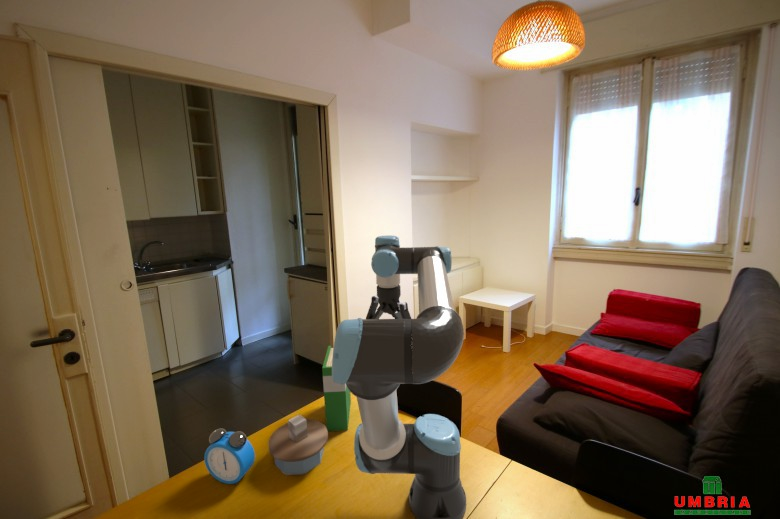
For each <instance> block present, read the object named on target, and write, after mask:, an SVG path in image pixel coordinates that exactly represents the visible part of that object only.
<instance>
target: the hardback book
mask: <svg viewBox="0 0 780 519" xmlns="http://www.w3.org/2000/svg"><path fill="white" fill-rule="evenodd" d="M333 349H334V347H332V345H328V346H327V350H326V354H325V357H324V361H323V364H322V368H321V372H322V382H323V384H322V385H323V398H324V401H323V402H324V414H325V415H324V416H325V427H326V428H327V431H328V432H334V431H336V432H337V431H348V430H349V420H350V413H351V404H352V399H351V395H352V394H351V392H350V391H349V389H348V388H347V386H346V384H343V385H341V384H340V383H335V382H334V381H333V379H332V359H333Z"/></svg>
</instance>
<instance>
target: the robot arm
mask: <svg viewBox="0 0 780 519" xmlns="http://www.w3.org/2000/svg"><path fill="white" fill-rule="evenodd" d="M374 240H375V241H374V248H375V251H374V253H373V255H372V257H371V269H372V271H373V272H374V275H376V276H375V277H376V278H375V283H376V285H377V286H376V295H373V296H371V298H370V299H371V301H370V305H369V308H368V311H367V314H366V316H365V318H364V319H363V318H361V317H358V318H352V319H344V320H342V321H340V323H339V324H338V326H337V328H336V332H335V336H334V342H333V348H334V349H333V359H332V379H333V381H334V382H335V383H340V384H341V385H343V384H346V386H347V388H348V389H349V391H350V394H351V395H353V396H355V397H356V401H357V406H358V409H359V415H360V419H361V423H359V424H358V426H356V430H355V434H354V446H353V450H354V455H355V458H354V459H355V464H356V467H357V469H358V470H359V472H361V473H365V474H370V475H374V474H375V475H376V474H395V475H396V474H400V475H401V474H402V475H405V474H406V475H408V474H409V475H414V477H413V480H412V482H411V484H410V488H409V492H408V502H409V503H408V505H409V507H410V508H409V509H410V510H411V512H412V514H413V515H414V516H415V518H416V519H462V518H463V517H464V516H465V514H466V510H467V494H466V491H465V489H464V486H463V485H462V481H461V477H460V473H461V449H462V443H461V436H460V430H459V429H458V427H457V425H456V424H455V423H454V422H453V421H452V420H450V419H449V418H447V417H445V416H442V415H440V414H436V413H426V414H422V416H421V415H420V416H419V417H417V418H416V419H415V421H414V423H403V421H402V419H400V418H399V410H398V409H399V406H398V396H397V390H398V388H399V387H400V385H401V384H402V385H404V384H405V385H406V384H409V385H411V384H412V385H421V384H426V383H429V382H431V381H432V382H433V381H434V380H436V379H438V378H439V377H441V376H442V375H443V374H444V373H446V372H447V371H448V370H449V369H450V368H451V367H452V365H453V364H454V362H456V360H457V358H458V356H459V354H460V352H461V349H462V347H463V343H464V338H465V337H464V336H465V332H464V325H463V321H462V320H463V319H462V318H461V315H460V314H459V313H458V312H457V311H456V310H455V308H454V303H453V302H454V301H453V296H452V293H451V288H450V283H449V282H450V281H449V278H448V274H449V273H451V271H452V253H451V252H452V251H451V249H450V247H446V246H438V245H437V246H420V247H419V246H417V247H401V245H400V238H399V237H398V236H396V235H388V234H387V235H380V236H379V235H378V236H377V237H375V239H374ZM401 275H417V293H418V294H417V296H418V315H417V316H416V318H412V316H411V314H410V312H409V306H408V302H406V301H405V302H400V298H401V295H402V294H401V292H402V291H401ZM383 314H388V315H390V316H392V318H381V317H382V315H383Z"/></svg>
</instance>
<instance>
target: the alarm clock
mask: <svg viewBox="0 0 780 519" xmlns="http://www.w3.org/2000/svg"><path fill="white" fill-rule="evenodd" d="M208 442H209V444H210V445H209V446H208V447H207V448H206V450H205V452H204V457H203V458H204V464H205V467H206V469H207V471H208V472H209V474H210V475H211V476H212V477H213V478H214V479H215V480H216V481H219V482H221V483H223V484H227V485H232V484H233V485H234V484H236V485H237V486H238V485H239V481H241V479H243V477H244V476H245V475H246V474H247V472H249V470H250V469H251V468H252V466H253V464H254V463H255V460H256V454H255V450H254V447H253V445H252V443H251V442H250V440H248V438H247V435H246V434H245V433H244V432H243V431H239V430H238V431H227V430H226V429H225V428H217V429H214V430H213V431H212V432H211V433H210V435H209V437H208Z"/></svg>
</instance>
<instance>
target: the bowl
mask: <svg viewBox="0 0 780 519" xmlns="http://www.w3.org/2000/svg"><path fill="white" fill-rule="evenodd" d="M324 448H325V447H324ZM324 448H323V449H322V450H321V451H319V452H318V453H317V454H315V455H314V456H312V457H310V458H307V459H305V460H301V461H296V462H285V461H281V460H278V459H276V458H274V457H273V459H274V465H275V466H276V468H278V470H280V472H282V474H283V475H284V476H288V475H289V476H290V475H306V474H307V473H308V472H310V471H311V470H313V469H315V468H316V467H317V466H319V465H321V464H322V459H323V455H324Z"/></svg>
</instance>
